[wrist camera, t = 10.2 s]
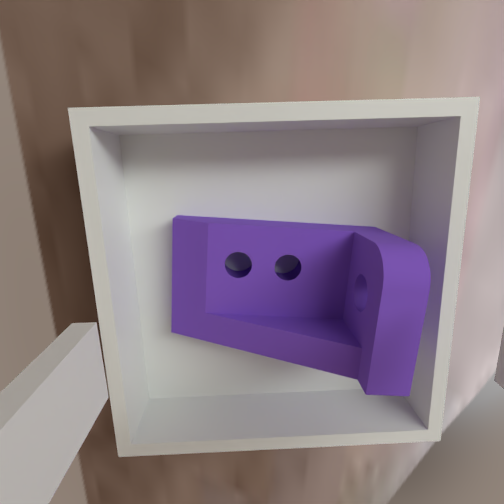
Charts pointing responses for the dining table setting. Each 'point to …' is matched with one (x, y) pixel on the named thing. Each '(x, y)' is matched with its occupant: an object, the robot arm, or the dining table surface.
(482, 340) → the dining table surface
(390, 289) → the bracket
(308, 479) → the dining table surface
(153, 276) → the bin
